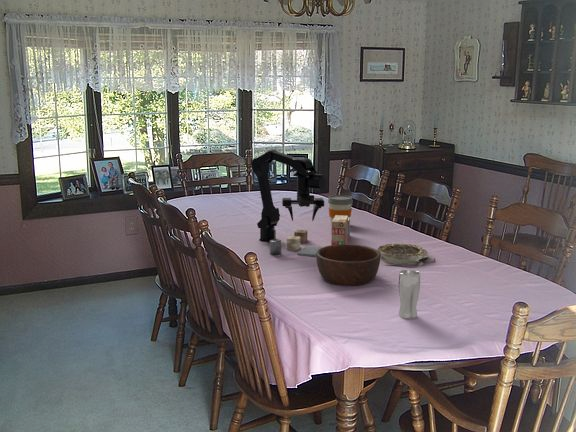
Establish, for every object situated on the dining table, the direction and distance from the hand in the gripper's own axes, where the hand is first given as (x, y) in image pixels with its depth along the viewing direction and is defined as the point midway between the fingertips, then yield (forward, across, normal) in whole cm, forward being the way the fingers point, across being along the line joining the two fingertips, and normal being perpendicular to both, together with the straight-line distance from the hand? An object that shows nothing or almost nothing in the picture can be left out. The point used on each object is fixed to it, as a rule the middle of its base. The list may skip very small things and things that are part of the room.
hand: (302, 220), depth 284 cm
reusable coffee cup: (+13, +23, +38) cm, 46 cm away
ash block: (+12, -4, -2) cm, 13 cm away
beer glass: (+11, +29, -83) cm, 89 cm away
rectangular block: (+12, 0, +9) cm, 16 cm away
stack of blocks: (+12, +19, +9) cm, 25 cm away
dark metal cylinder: (+12, -12, -10) cm, 21 cm away
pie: (+12, +42, -19) cm, 48 cm away
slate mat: (+12, +5, -10) cm, 16 cm away
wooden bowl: (+12, +14, -44) cm, 48 cm away
